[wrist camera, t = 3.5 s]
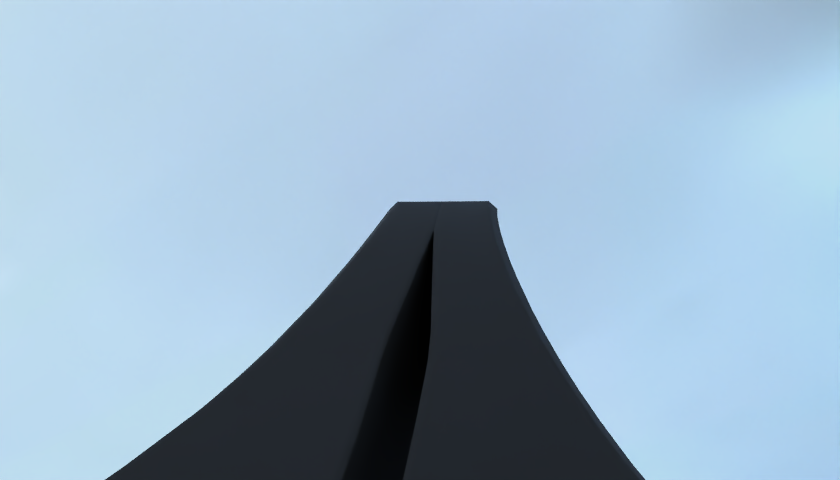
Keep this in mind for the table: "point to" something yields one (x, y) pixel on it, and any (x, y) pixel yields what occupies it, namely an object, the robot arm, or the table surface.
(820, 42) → the table surface
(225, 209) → the table surface
